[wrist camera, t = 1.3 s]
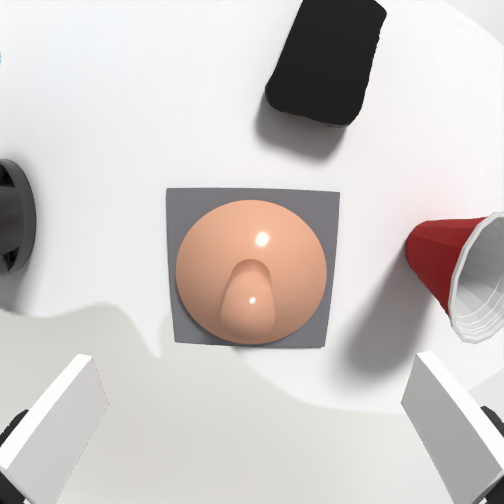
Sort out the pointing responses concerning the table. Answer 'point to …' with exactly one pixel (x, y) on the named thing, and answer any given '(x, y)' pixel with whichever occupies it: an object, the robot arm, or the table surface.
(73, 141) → the table surface
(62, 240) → the table surface
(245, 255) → the lid
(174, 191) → the mat
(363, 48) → the black sponge
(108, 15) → the table surface
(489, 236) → the plastic cup
